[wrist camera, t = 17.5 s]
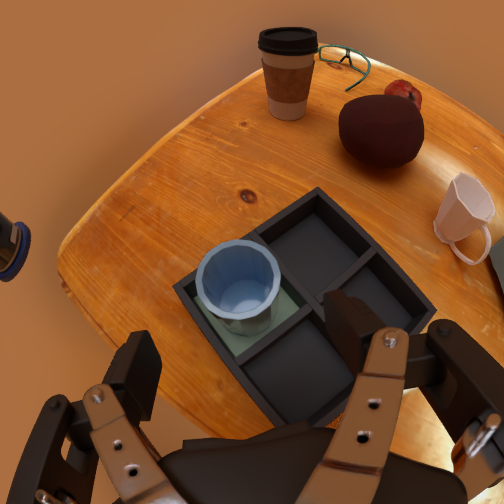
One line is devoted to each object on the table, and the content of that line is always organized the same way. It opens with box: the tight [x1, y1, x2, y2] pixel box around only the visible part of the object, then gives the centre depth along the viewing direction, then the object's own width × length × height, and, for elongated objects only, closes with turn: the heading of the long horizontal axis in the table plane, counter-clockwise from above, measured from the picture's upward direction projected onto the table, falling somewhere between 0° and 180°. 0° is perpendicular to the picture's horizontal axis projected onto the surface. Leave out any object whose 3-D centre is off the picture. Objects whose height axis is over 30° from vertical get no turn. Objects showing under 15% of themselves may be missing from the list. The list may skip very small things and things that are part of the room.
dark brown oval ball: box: [339, 95, 424, 168], centre depth 30 cm, size 11×13×10 cm
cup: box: [433, 172, 496, 265], centre depth 25 cm, size 7×10×8 cm
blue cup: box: [195, 239, 281, 336], centre depth 23 cm, size 6×6×8 cm
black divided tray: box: [172, 187, 437, 427], centre depth 24 cm, size 18×18×4 cm
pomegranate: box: [384, 79, 422, 112], centre depth 37 cm, size 7×7×10 cm
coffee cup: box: [258, 27, 318, 121], centre depth 34 cm, size 8×8×15 cm
